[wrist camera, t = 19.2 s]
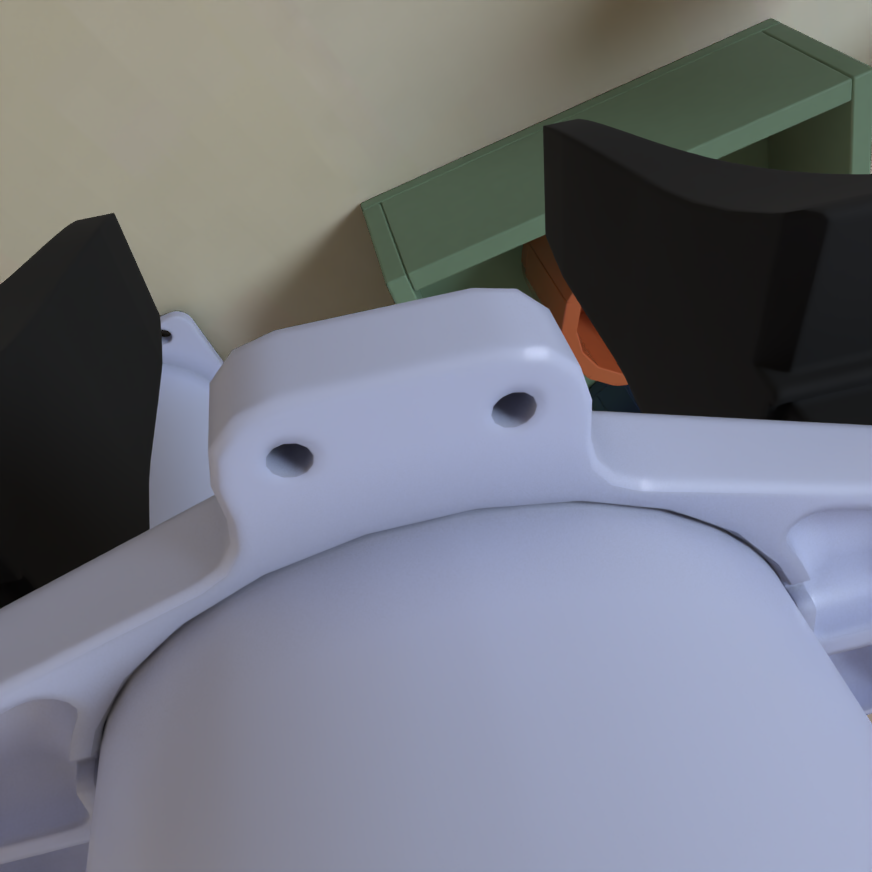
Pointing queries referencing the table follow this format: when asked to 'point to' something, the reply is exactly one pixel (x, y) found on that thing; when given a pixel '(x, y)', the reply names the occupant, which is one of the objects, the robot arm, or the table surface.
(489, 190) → the sage tub
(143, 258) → the table surface
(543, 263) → the terracotta cup
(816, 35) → the table surface
